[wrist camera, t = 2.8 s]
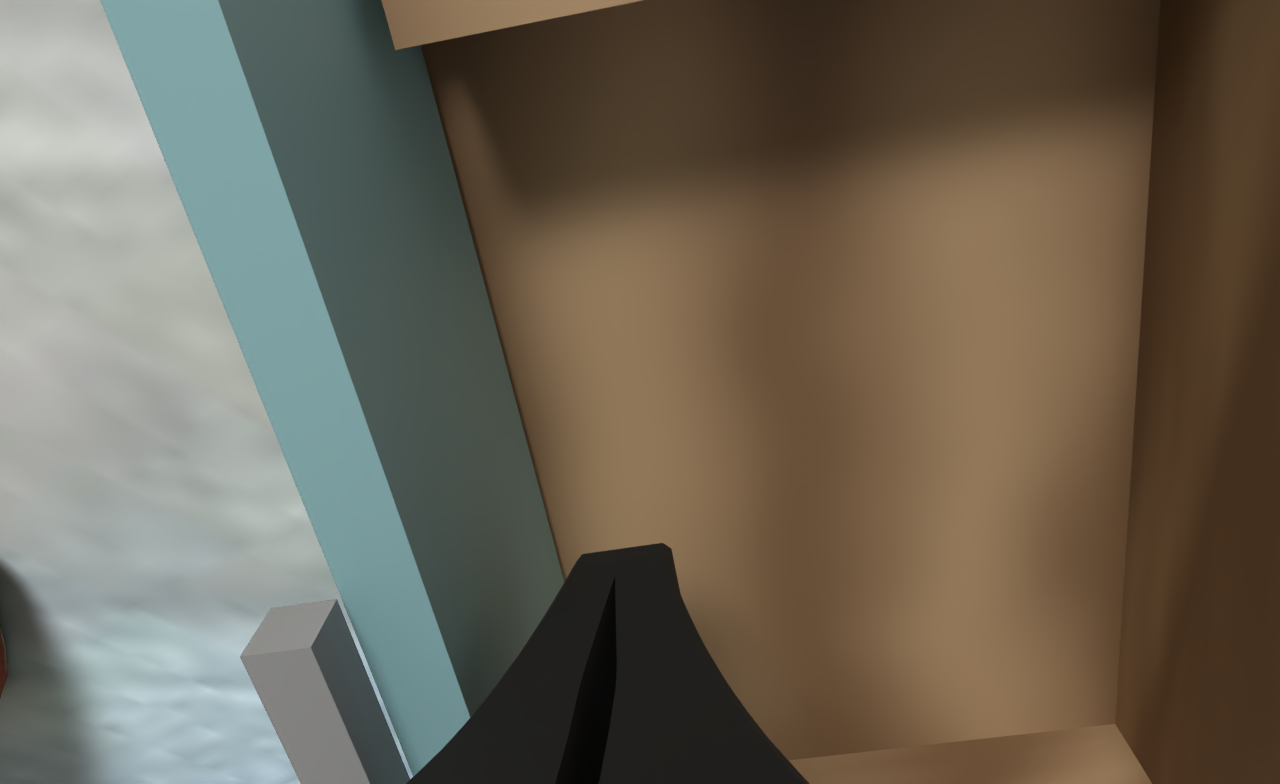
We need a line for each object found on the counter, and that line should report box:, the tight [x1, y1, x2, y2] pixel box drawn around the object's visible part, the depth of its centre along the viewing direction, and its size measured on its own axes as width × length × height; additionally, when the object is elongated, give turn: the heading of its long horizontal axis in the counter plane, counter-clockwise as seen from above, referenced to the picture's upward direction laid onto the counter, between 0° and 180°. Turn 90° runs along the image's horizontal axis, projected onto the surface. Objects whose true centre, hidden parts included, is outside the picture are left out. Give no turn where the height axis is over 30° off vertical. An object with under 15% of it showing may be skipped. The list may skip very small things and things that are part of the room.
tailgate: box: [100, 0, 564, 784], centre depth 13 cm, size 2×18×7 cm, turn 10°
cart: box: [381, 0, 1280, 784], centre depth 15 cm, size 13×20×7 cm, turn 10°
